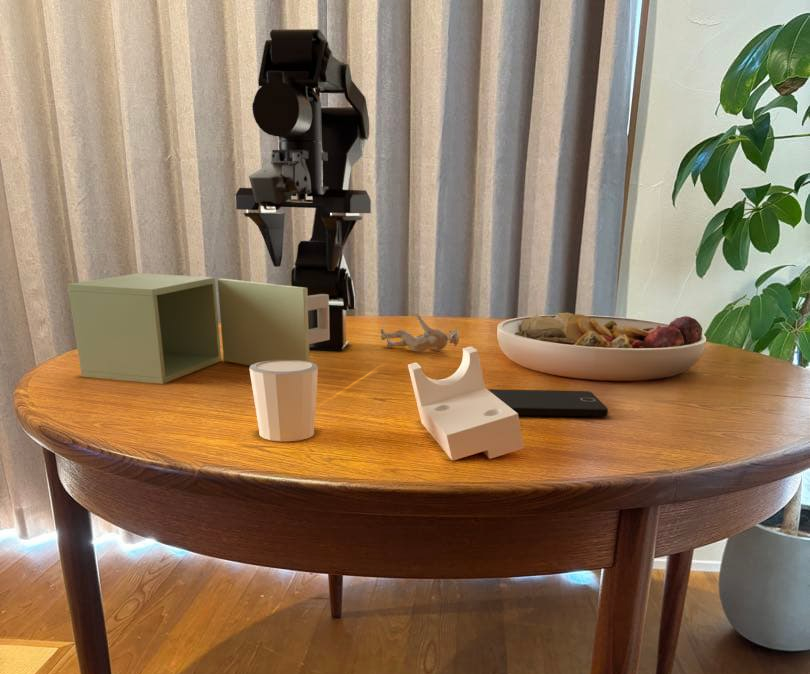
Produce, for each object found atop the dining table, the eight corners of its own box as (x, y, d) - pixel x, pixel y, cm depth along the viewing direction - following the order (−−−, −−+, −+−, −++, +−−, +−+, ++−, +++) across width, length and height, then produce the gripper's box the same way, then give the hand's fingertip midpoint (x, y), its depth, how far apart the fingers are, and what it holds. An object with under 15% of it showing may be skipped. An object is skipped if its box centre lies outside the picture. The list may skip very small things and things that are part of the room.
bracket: (423, 430, 84) (407, 364, 81) (484, 412, 85) (470, 346, 81) (454, 469, 73) (437, 394, 69) (524, 448, 73) (510, 372, 70)
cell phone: (608, 417, 87) (609, 409, 86) (450, 414, 86) (451, 406, 86) (589, 398, 95) (590, 390, 94) (445, 395, 94) (445, 388, 94)
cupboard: (221, 361, 111) (215, 277, 106) (163, 384, 97) (152, 289, 92) (148, 355, 114) (138, 273, 109) (81, 377, 100) (67, 284, 95)
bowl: (470, 372, 107) (473, 315, 104) (522, 339, 133) (526, 292, 129) (694, 396, 97) (705, 333, 94) (704, 355, 123) (713, 304, 119)
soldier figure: (395, 350, 126) (464, 331, 122) (395, 374, 124) (466, 356, 120) (376, 321, 120) (449, 300, 116) (377, 346, 118) (451, 326, 114)
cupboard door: (257, 353, 116) (253, 275, 111) (339, 367, 108) (337, 283, 103) (223, 361, 110) (217, 278, 106) (306, 376, 103) (303, 288, 98)
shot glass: (326, 425, 82) (324, 360, 79) (312, 445, 76) (310, 374, 73) (263, 422, 82) (259, 357, 79) (245, 441, 76) (240, 371, 73)
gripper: (203, 138, 98) (212, 268, 104) (324, 136, 89) (327, 277, 96) (258, 145, 106) (264, 263, 113) (373, 143, 98) (372, 271, 105)
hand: (303, 268), depth 106 cm, fingers open, 9 cm apart
